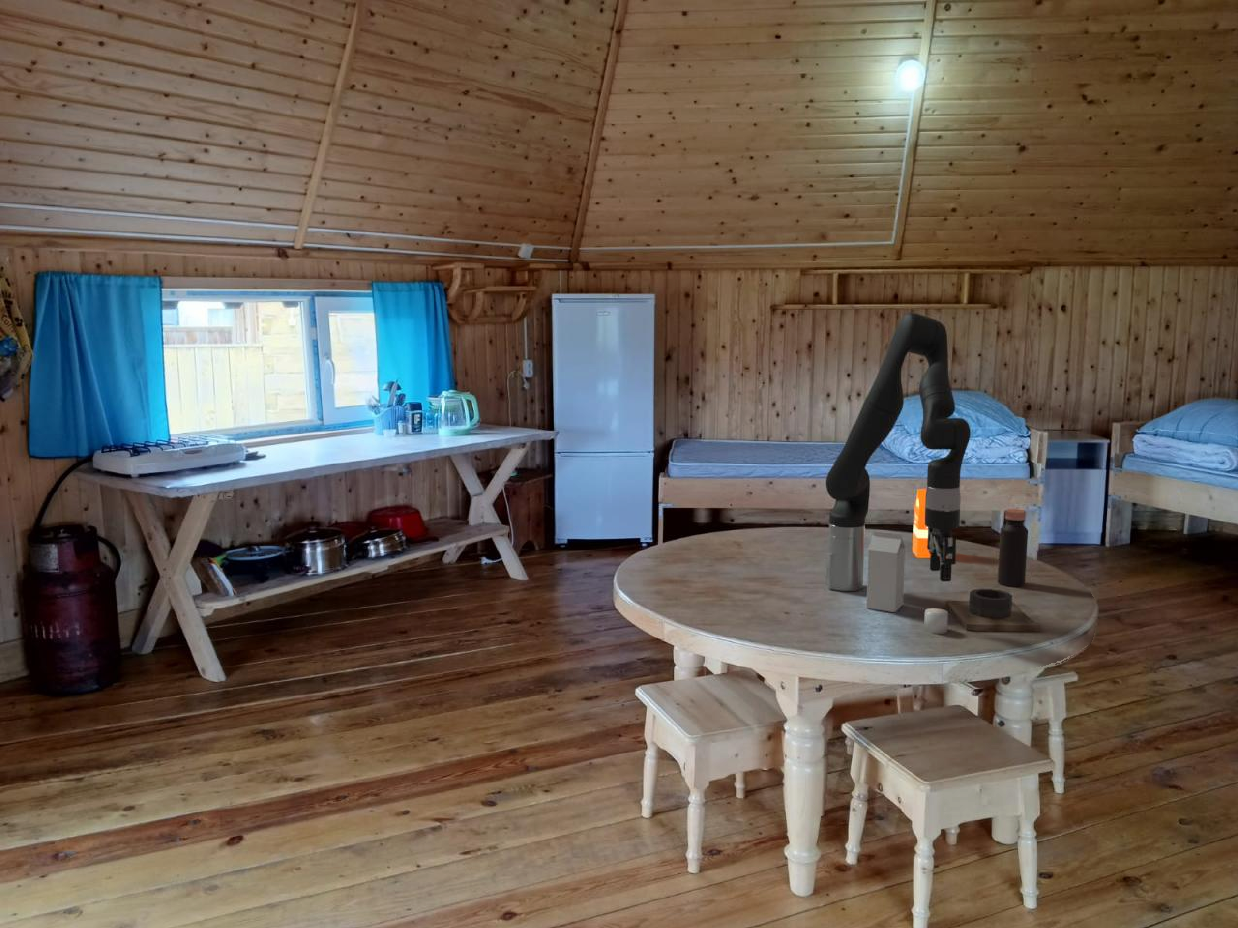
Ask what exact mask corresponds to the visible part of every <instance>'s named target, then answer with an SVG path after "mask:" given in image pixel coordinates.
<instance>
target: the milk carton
mask: <svg viewBox="0 0 1238 928" xmlns="http://www.w3.org/2000/svg"><path fill="white" fill-rule="evenodd" d="M872 533H873V534H872V538H871V540H870V544H869V546H868V549H867V551H868V552H867V553H868V554H867V556H868V557H867V580H866V582H867V583H866V608H867V609H870V610H871V609H872V610H877V611H885V612H890V613H895V612H897V611H898V610H899V609H900V608H901V607H902V606H903V605H904V592H905V591H904V588H905V585H904V583H905V568H906V567H905V563H906V562H905V560H906V545H905V542H904V539H903V533H897V532H896V533H895V532H889V531H879V530H873V531H872Z"/></svg>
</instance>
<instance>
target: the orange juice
mask: <svg viewBox="0 0 1238 928" xmlns="http://www.w3.org/2000/svg"><path fill="white" fill-rule="evenodd" d="M926 490H927V489H920V488H918V489H917V491H916V498H915V503H914V509H913V510H914V513H913V514H914V515H913V531H912V532H913V537H912V552H913V554H914V556H915V557H916V558H918V559H919V558H921V559H922V558H924V559H925V558H926V559H930V555H931V554H929V550H928V549H927V542H928V527H927V526H926V525H925V497H926Z"/></svg>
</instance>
